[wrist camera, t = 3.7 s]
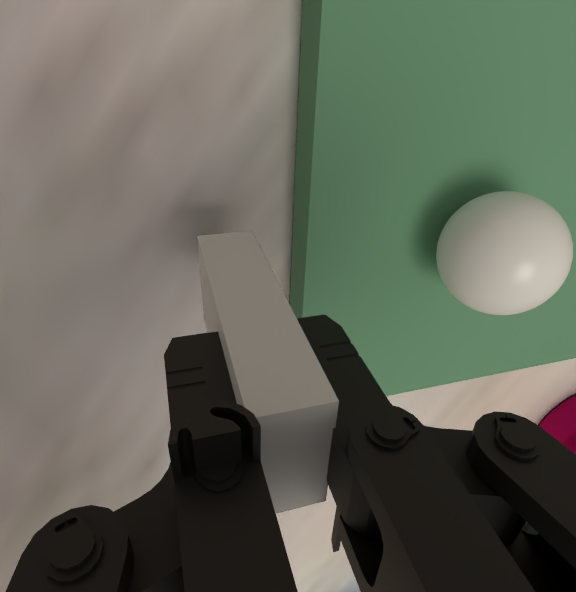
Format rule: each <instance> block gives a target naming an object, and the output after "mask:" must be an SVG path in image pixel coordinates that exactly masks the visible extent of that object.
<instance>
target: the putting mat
mask: <svg viewBox="0 0 576 592" xmlns="http://www.w3.org/2000/svg"><path fill="white" fill-rule="evenodd" d="M500 191H516V192H522V193H527V194H530V195H532V196H535V197H537V198H540V199H541V200H543V201H545V202H546V203H548V204H549V205H551V206H552V207H553V208H554V209H555V210H556V211H557V212H558V213H559V214H560V215H561V217H562V218H563V219H564V221H565V222H566V224H567V226H568V228H569V231H570V233H571V238H572V242H573V260H572V264H571V268H570V271H569V274H568V276H567V278H566V279H565V281H564V283H563V284H562V286H561V287H560V288H559V289H558V291H557V292H556V293H555V294H554V295H553V296H552V297H550V298H549V299H548V300H547V301H545V302H544V303H542V304H541V305H539V306H537V307H535V308H533V309H531V310H528V311H525V312H522V313H518V314H512V315H492V314H487V313H482V312H479V311H476V310H474V309H471V308H469V307H468V306H466V305H464V304H463V303H461V302H460V301H459V300H457V299H456V298H455V297H454V296H453V295H452V294H451V293H450V292H449V291H448V289H447V288H446V286H445V285H444V283H443V281H442V279H441V277H440V274H439V271H438V267H437V260H436V251H437V244H438V240H439V237H440V234H441V232H442V230H443V228H444V226H445V224H446V223H447V221H448V220H449V219H450V217H451V216H452V215H453V214H454V213H455V212H456V211H457V210H458V209H459V208H461V207H462V206H463V205H464V204H466V203H467V202H469V201H471V200H473V199H475V198H477V197H479V196H482V195H485V194H488V193H493V192H500ZM289 305H290V306H291V308H292V310H293V312H294V314H295V316H296V318H303V317H310V316H317V315H324V314H325V315H327V316H328V317H329V318H331V319H332V320H334V321H335V322H336V323H338V324H339V325H341V326H342V328H343V329H344V331H345V333H346V334H347V336H348V337H349V339H350V340H351V344H353V345H354V347H355V348H356V350H357V351H358V354H359V356H361V358H362V359H363V361H364V363H365V364H366V366H367V367H368V369H369V370H370V372H371V374H372V375H373V377H374V378H375V380H376V381H377V383H378V385H379V386H380V388H381V389H382V391H383V392H384V394H385V396H388V395H393V394H398V393H403V392H408V391H413V390H418V389H423V388H428V387H433V386H438V385H443V384H448V383H453V382H458V381H463V380H468V379H473V378H478V377H483V376H488V375H493V374H498V373H503V372H508V371H513V370H518V369H523V368H528V367H533V366H538V365H543V364H548V363H553V362H558V361H563V360H568V359H573V358H576V0H302V24H301V47H300V71H299V94H298V117H297V141H296V164H295V187H294V211H293V234H292V257H291V281H290V304H289Z"/></svg>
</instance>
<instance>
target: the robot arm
mask: <svg viewBox="0 0 576 592" xmlns="http://www.w3.org/2000/svg"><path fill="white" fill-rule="evenodd" d="M197 240H198V252H199V264H200V276H201V287H202V299H203V311H204V320H205V324H206V329H207V333H203V334H196V335H189V336H182V337H176V338H172V340H171V342H170V344H169V346H168V348H167V350H166V352H165V354H164V359H165V370H166V381H167V390H168V402H169V413H170V423H171V430H170V436H169V442H168V448H169V454H170V459H171V463H170V466H169V469H168V470H167V472H166V473H165V475H164V476H163V478H162V480H161V481H160V482H159V483H158V484H157V485H156V486H155V487H154V488H153V489H152V490H150V491H149V492H147V493H146V494H144V495H143V496H141V497H140V498H138V499H136V500H134V501H132V502H131V503H129V504H127V505H125V506H123V507H121V508H120V509H118V510H116V511H114V512H113V511H112V510H110V509H109V508H105V507H99V506H93V505H89V506H84V507H79V508H74V509H70V510H68V511H67V512H65V513H63V514H61V515H59V516H57V517H55V518H53V519H51V520H50V521H49V522H48V523H47V524H46V525H45V526H44V527H42V528H41V529H40V530H39V531H38V532H37V533H36V534H35V535H34V536H33V538H32V539H31V541H30V542H29V544H28V546H27V547H26V549H25V550H24V552H23V554H22V555H21V558H20V560H19V562H18V565H17V567H16V569H15V571H14V574H13V576H12V578H11V581H10V583H9V585H8V588H7V590H6V592H297V588H296V584H295V581H294V577H293V574H292V570H291V567H290V563H289V560H288V556H287V553H286V549H285V546H284V542H283V538H282V535H281V531H280V528H279V524H278V521H277V517H276V513H280V512H283V511H287V510H291V509H295V508H299V507H303V506H307V505H311V504H315V503H319V502H323V501H326V495H327V487H328V485H329V488H330V490H331V493H332V495H333V498H334V500H335V503H336V505H337V507H336V513H335V520H334V526H333V532H332V539H331V541H332V547H333V552H336V551H339V547H340V541H342V544H343V547H344V549H345V552H346V555H347V557H348V560H349V562H350V565H351V568H352V570H353V573H354V575H355V578H356V581H357V583H358V586H359V588H360V591H361V592H576V454H574V453H573V452H572V451H571V450H569V449H568V448H567V447H565V446H564V445H563V444H562V443H560V442H559V441H558V440H556V439H555V438H554V437H553V436H551V435H550V434H549V433H547V432H546V431H545V430H544V429H542V428H541V427H540V426H538V425H536V424H535V423H533V422H531V421H530V420H528V419H526V418H524V417H521V416H518V415H515V414H512V413H506V412H492V413H489V414H485V415H483V416H482V417H481V418H480V419H479V420H478V421H477V422H476V423H475V426H474V428H473V431H468V430H454V429H441V428H433V427H427V426H424V425H422V423H421V422H420V421H419V420H418V419H417V418H416V417H415V416H414V415H413V414H411V413H409V412H407V411H406V410H404V409H402V408H400V407H396V406H392V404H391V403H390V402H389V400H388V399H387V397H386V396H385V394H384V392H383V391H382V389H381V388H380V386H379V385H378V383H377V381H376V380H375V378H374V377H373V375H372V374H371V372H370V370H369V369H368V367H367V366H366V364H365V363H364V361H363V359H362V358H361V356H359V354H358V351H357V350H356V348H355V347H354V345H353V344H351V340H350V339H349V337H348V336H347V334H346V333H345V331H344V329H343V328H342V326H341V325H339V324H338V323H336V322H335V321H334V320H332V319H331V318H329V317H328V316H327V315H325V314H324V315H317V316H310V317H303V318H296V316H295V314H294V312H293V310H292V308H291V306H290V305H289V303H288V301H287V299H286V297H285V295H284V293H283V291H282V289H281V287H280V285H279V283H278V281H277V279H276V277H275V275H274V273H273V271H272V269H271V267H270V266H269V264H268V262H267V260H266V258H265V256H264V254H263V252H262V250H261V248H260V246H259V244H258V242H257V240H256V238H255V236H254V234H253V232H252V231H244V232H233V233H222V234H212V235H201V236H197Z"/></svg>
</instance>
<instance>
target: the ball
mask: <svg viewBox="0 0 576 592" xmlns="http://www.w3.org/2000/svg"><path fill="white" fill-rule="evenodd" d="M436 260H437V267H438V271H439V274H440V277H441V279H442V281H443V283H444V285H445V286H446V288H447V289H448V291H449V292H450V293H451V294H452V295H453V296H454V297H455V298H456V299H457V300H459V301H460V302H461V303H463V304H464V305H466V306H468V307H469V308H471V309H474V310H476V311H479V312H482V313H487V314H492V315H512V314H518V313H522V312H525V311H528V310H531V309H533V308H535V307H537V306H539V305H541V304H542V303H544V302H545V301H547V300H548V299H549V298H550V297H552V296H553V295H554V294H555V293H556V292H557V291H558V289H559V288H560V287H561V286H562V284H563V283H564V281H565V279H566V278H567V276H568V274H569V271H570V268H571V264H572V260H573V242H572V238H571V233H570V231H569V228H568V226H567V224H566V222H565V221H564V219H563V218H562V217H561V215H560V214H559V213H558V212H557V211H556V210H555V209H554V208H553V207H552V206H551V205H549V204H548V203H546V202H545V201H543V200H541V199H540V198H537V197H535V196H532V195H530V194H527V193H522V192H516V191H500V192H493V193H488V194H485V195H482V196H479V197H477V198H475V199H473V200H471V201H469V202H467V203H466V204H464V205H463V206H462V207H461V208H459V209H458V210H457V211H456V212H455V213H454V214H453V215H452V216H451V217H450V219H449V220H448V221H447V223H446V224H445V226H444V228H443V230H442V232H441V234H440V237H439V240H438V244H437V251H436Z"/></svg>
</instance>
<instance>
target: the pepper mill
mask: <svg viewBox="0 0 576 592" xmlns="http://www.w3.org/2000/svg"><path fill="white" fill-rule="evenodd" d="M539 426H540V427H541V428H542V429H544V430H545V431H546V432H547V433H549V434H550V435H551V436H553V437H554V438H555V439H556V440H558V441H559V442H560V443H562V444H563V445H564V446H565V447H567V448H568V449H569V450H571V451H572V452H573V453H574V454H576V395H575V396H572V397H571V398H569V399H567V400H566V401H564V402H563V403H561V404H560V405H559V406H557V407H556V408H555V409H554V410H552V411H551V412H550V413H549V414H548V415H547V416H546V417H545V419H544V420H543V421H542V422H541V423H540V425H539Z"/></svg>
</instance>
